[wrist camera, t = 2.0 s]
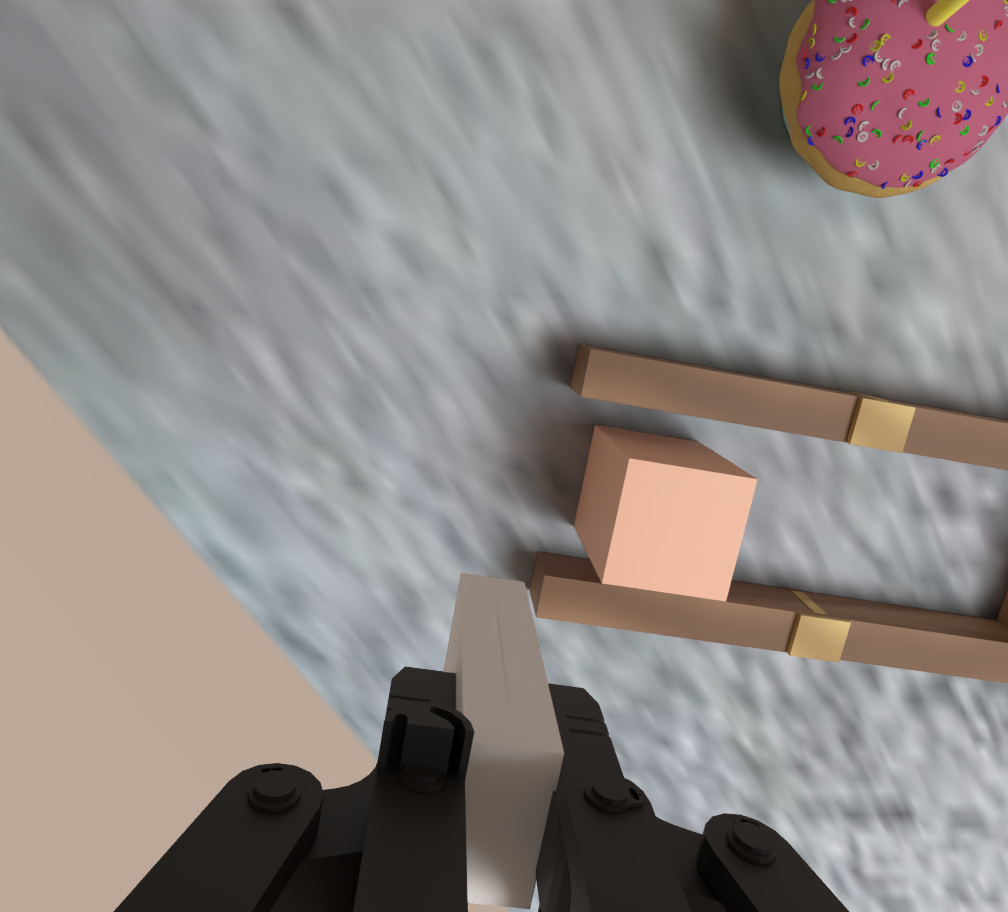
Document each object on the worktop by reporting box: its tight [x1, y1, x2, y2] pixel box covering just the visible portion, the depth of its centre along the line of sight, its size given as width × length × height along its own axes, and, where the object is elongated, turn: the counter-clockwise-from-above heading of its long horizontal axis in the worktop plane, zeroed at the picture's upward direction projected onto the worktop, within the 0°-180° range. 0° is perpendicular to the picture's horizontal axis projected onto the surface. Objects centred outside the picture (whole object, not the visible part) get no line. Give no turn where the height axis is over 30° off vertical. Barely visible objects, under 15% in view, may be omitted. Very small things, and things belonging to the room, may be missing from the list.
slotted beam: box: [530, 344, 1008, 683], centre depth 34 cm, size 12×26×3 cm, turn 80°
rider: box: [574, 425, 758, 601], centre depth 31 cm, size 5×5×7 cm
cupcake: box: [779, 0, 1008, 198], centre depth 26 cm, size 9×8×12 cm
